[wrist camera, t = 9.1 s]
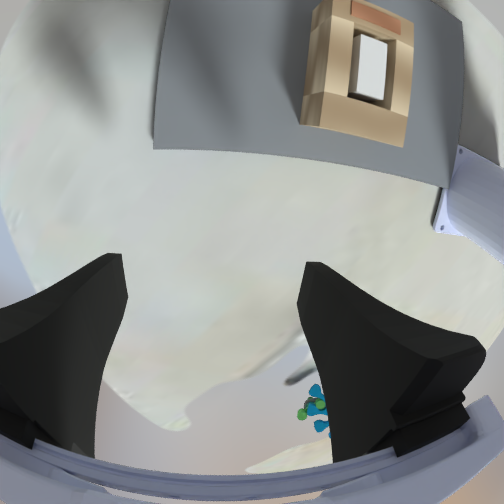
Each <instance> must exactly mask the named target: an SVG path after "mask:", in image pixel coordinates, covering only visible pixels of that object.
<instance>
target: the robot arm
mask: <svg viewBox="0 0 504 504" xmlns="http://www.w3.org/2000/svg"><path fill="white" fill-rule="evenodd" d="M459 150H460V151H459ZM433 230H434V231H435V232H438V233H446V234H453V235H459V236H466V237H467V238H468V239H470V240H471V241H473V242H474V243H475V244H477V245H478V246H480V247H481V248H482V249H484V250H485V251H486V252H488V253H489V254H490V255H492V256H493V257H494V258H495V259H497V260H498V261H499V262H500V263H502V264H503V265H504V168H502V167H500V166H498V165H496V164H495V163H493V162H491V161H489V160H488V159H486V158H484V157H482V156H480V155H478V154H476V153H475V152H473V151H471V150H469V149H467V148H465V147H463V146H461V145H458V147H457V153H456V159H455V164H454V169H453V174H452V178H451V183H450V187H449V189H445V188H443V190H442V194H441V198H440V202H439V206H438V209H437V213H436V217H435V220H434V223H433ZM127 300H128V293H127V288H126V282H125V275H124V269H123V262H122V254H116V253H107V254H104V255H102V256H100V257H99V258H97V259H95V260H93V261H92V262H90V263H89V264H87V265H85V266H84V267H82V268H80V269H79V270H77V271H76V272H74V273H73V274H71V275H69V276H68V277H66V278H64V279H62V280H61V281H59V282H57V283H56V284H54V285H52V286H51V287H49V288H47V289H45V290H43V291H41V292H39V293H37V294H35V295H33V296H31V297H29V298H27V299H24V300H22V301H19V302H17V303H15V304H12V305H9V306H7V307H4V308H1V309H0V499H1V500H2V501H3V502H5V503H6V504H159V503H152V502H145V501H139V500H134V499H129V498H125V497H120V496H116V495H112V494H110V493H109V492H107V491H106V490H105V489H104V488H103V487H101V486H98V485H95V484H99V485H102V486H106V487H110V488H114V489H118V490H122V491H127V492H132V493H137V494H143V495H149V496H156V497H163V498H173V499H182V500H197V501H246V500H260V499H271V498H280V497H288V496H294V495H300V494H306V493H312V492H316V491H321V490H324V491H323V492H322V493H321V495H320V496H319V497H317V498H315V499H312V500H305V501H298V502H291V503H284V504H439V503H441V502H442V501H444V500H445V499H447V498H448V497H449V496H451V495H452V494H453V493H455V492H456V491H457V490H459V489H460V488H461V487H462V486H464V485H465V484H466V483H467V482H469V481H470V480H471V479H472V478H473V477H475V476H476V475H477V474H478V473H479V472H480V471H481V470H483V469H484V468H485V467H486V466H487V465H488V464H489V463H490V462H491V461H493V460H494V459H495V458H496V457H497V456H498V455H499V454H500V453H501V452H502V451H503V450H504V420H503V419H502V417H501V415H500V414H499V412H498V410H497V409H496V407H495V405H494V404H493V402H492V401H491V399H490V397H489V396H488V395H485V396H483V397H482V398H480V399H478V400H477V401H475V402H473V403H472V404H470V405H469V406H467V407H466V408H464V406H463V405H462V402H463V401H464V400H465V395H464V394H463V392H462V391H463V390H464V388H465V387H466V386H467V385H468V384H469V382H470V381H471V380H472V379H473V377H474V376H475V375H476V373H477V372H478V371H479V369H480V368H481V366H482V365H483V363H484V361H485V357H486V350H485V348H484V347H483V346H482V345H481V343H480V342H479V341H478V340H477V339H476V338H475V337H473V336H469V335H465V334H461V333H456V332H452V331H448V330H445V329H442V328H439V327H435V326H432V325H430V324H427V323H424V322H422V321H419V320H417V319H415V318H412V317H410V316H407V315H405V314H403V313H401V312H399V311H397V310H395V309H393V308H392V307H390V306H388V305H386V304H384V303H382V302H381V301H379V300H377V299H376V298H374V297H372V296H371V295H369V294H368V293H366V292H365V291H363V290H362V289H360V288H359V287H357V286H356V285H354V284H353V283H351V282H350V281H349V280H347V279H346V278H344V277H343V276H341V275H340V274H339V273H337V272H336V271H334V270H333V269H331V268H330V267H328V266H327V265H325V264H323V263H321V262H306V265H305V270H304V274H303V279H302V283H301V288H300V292H299V296H298V301H297V307H298V312H299V317H300V321H301V325H302V328H303V331H304V334H305V336H306V339H307V342H308V344H309V347H310V350H311V353H312V355H313V358H314V361H315V363H316V366H317V369H318V372H319V376H320V379H321V384H322V388H323V393H324V398H325V403H326V409H327V414H328V421H329V428H330V435H331V445H332V457H333V463H332V464H328V465H323V466H318V467H312V468H306V469H300V470H293V471H285V472H277V473H266V474H252V475H192V474H179V473H168V472H160V471H152V470H146V469H139V468H134V467H128V466H123V465H118V464H114V463H109V462H105V461H101V460H97V459H95V455H94V442H95V441H94V440H95V439H94V438H95V421H96V411H97V402H98V396H99V390H100V385H101V380H102V375H103V371H104V367H105V364H106V361H107V358H108V355H109V352H110V350H111V347H112V344H113V342H114V339H115V337H116V334H117V332H118V329H119V326H120V324H121V321H122V319H123V315H124V312H125V308H126V304H127ZM90 482H91V483H90ZM92 483H95V484H92ZM326 489H327V490H326Z"/></svg>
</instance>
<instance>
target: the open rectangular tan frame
mask: <svg viewBox="0 0 504 504" xmlns="http://www.w3.org/2000/svg"><path fill="white" fill-rule="evenodd" d="M360 34H362V35H365V36H368V37H371V38H373V39H376V40H378V41H381V42H383V43H386V44H387V61H386V75H385V87H384V97H383V100H365V101H359V100H356V99H352V98H349V97H347V94H348V85H349V77H350V67H351V56H352V45H353V38H354V37H356V36H358V35H360ZM413 52H414V23H412V22H410V21H409V20H407V19H405V18H403V17H401V16H399V15H397V14H394V13H392V12H390V11H388V10H386V9H384V8H381V7H379V6H377V5H374V4H372V3H369V2H367V1H364V0H323V1H322V2H321V3H320V4H319V5H318V6H317V7H316V8H315V9H314V10H313V12H312V22H311V32H310V42H309V51H308V60H307V69H306V77H305V85H304V94H303V101H302V109H301V117H300V124H299V125H305V126H311V127H316V128H321V129H326V130H331V131H336V132H341V133H345V134H349V135H354V136H358V137H362V138H366V139H369V140H373V141H378V142H382V143H386V144H390V145H394V146H398V147H402V148H403V145H404V139H405V133H406V126H407V119H408V112H409V104H410V95H411V84H412V71H413Z"/></svg>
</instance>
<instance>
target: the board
mask: <svg viewBox="0 0 504 504" xmlns="http://www.w3.org/2000/svg"><path fill="white" fill-rule="evenodd" d="M322 1H323V0H170V4H169V9H168V14H167V20H166V25H165V31H164V37H163V43H162V50H161V57H160V65H159V74H158V83H157V93H156V105H155V120H154V140H153V149H187V150H215V151H232V152H246V153H258V154H268V155H278V156H286V157H295V158H302V159H310V160H317V161H323V162H330V163H336V164H342V165H347V166H353V167H358V168H363V169H368V170H373V171H378V172H383V173H387V174H392V175H396V176H400V177H404V178H409V179H413V180H416V181H420V182H424V183H428V184H431V185H435V186H439V187H442V188H445V189H449V187H450V183H451V178H452V174H453V169H454V164H455V159H456V153H457V147H458V141H459V134H460V126H461V117H462V106H463V92H464V42H463V28H462V21H460V20H459V19H457V18H456V17H455V16H453V15H452V14H450V13H449V12H448V11H446V10H445V9H443V8H442V7H440V6H438V5H437V4H435V3H434V2H432V1H430V0H364V1H367V2H369V3H372V4H374V5H377V6H379V7H381V8H384V9H386V10H388V11H390V12H392V13H394V14H397V15H399V16H401V17H403V18H405V19H407V20H409V21H410V22H412V23H414V52H413V71H412V84H411V95H410V104H409V112H408V119H407V126H406V133H405V139H404V145H403V148H402V147H398V146H394V145H390V144H386V143H382V142H378V141H373V140H369V139H366V138H362V137H358V136H354V135H349V134H345V133H341V132H336V131H331V130H326V129H321V128H316V127H311V126H305V125H299V124H300V117H301V109H302V101H303V94H304V85H305V77H306V69H307V60H308V51H309V42H310V32H311V22H312V12H313V10H314V9H315V8H316V7H317V6H318V5H319V4H320V3H321V2H322ZM386 61H387V44H386V43H383V42H381V41H378V40H376V39H373V38H371V37H368V36H365V35H362V34H360V35H358V36H356V37H354V38H353V45H352V56H351V67H350V77H349V85H348V94H347V97H349V98H352V99H356V100H359V101H365V100H383V97H384V87H385V75H386Z"/></svg>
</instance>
